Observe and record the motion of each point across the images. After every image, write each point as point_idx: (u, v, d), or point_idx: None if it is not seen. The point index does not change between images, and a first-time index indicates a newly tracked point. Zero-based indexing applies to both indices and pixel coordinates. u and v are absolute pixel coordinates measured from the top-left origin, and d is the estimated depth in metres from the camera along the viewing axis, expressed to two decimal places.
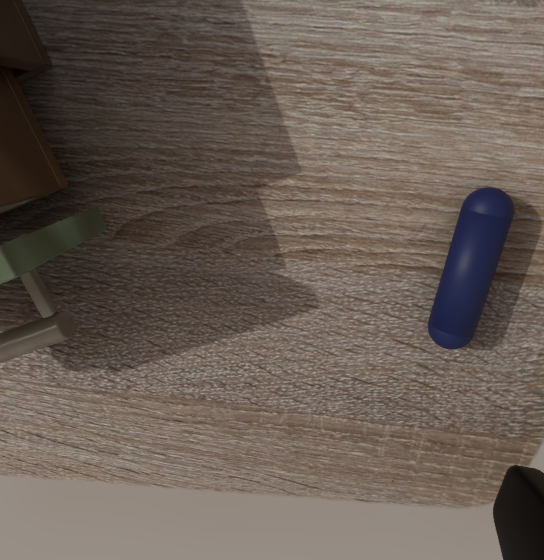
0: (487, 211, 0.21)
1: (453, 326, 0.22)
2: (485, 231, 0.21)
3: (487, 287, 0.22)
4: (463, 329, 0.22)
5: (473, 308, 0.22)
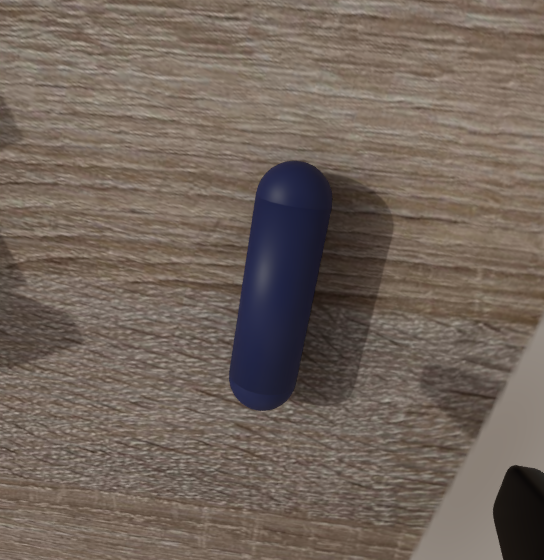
0: (279, 198, 0.13)
1: (251, 379, 0.14)
2: (279, 231, 0.13)
3: (298, 319, 0.14)
4: (267, 383, 0.14)
5: (278, 352, 0.14)
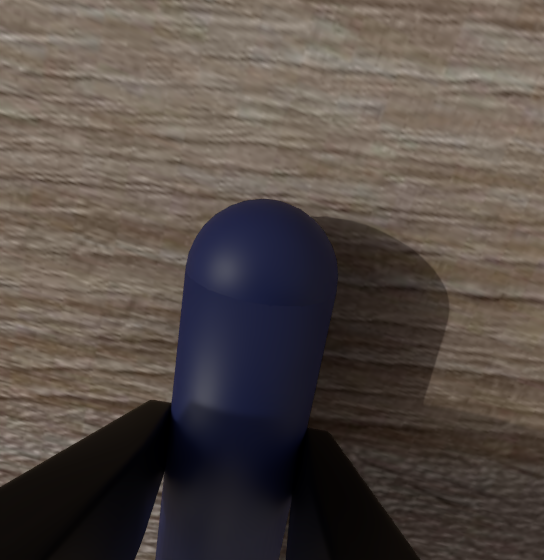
0: (226, 284, 0.06)
1: None
2: (228, 350, 0.06)
3: (272, 502, 0.07)
4: None
5: None
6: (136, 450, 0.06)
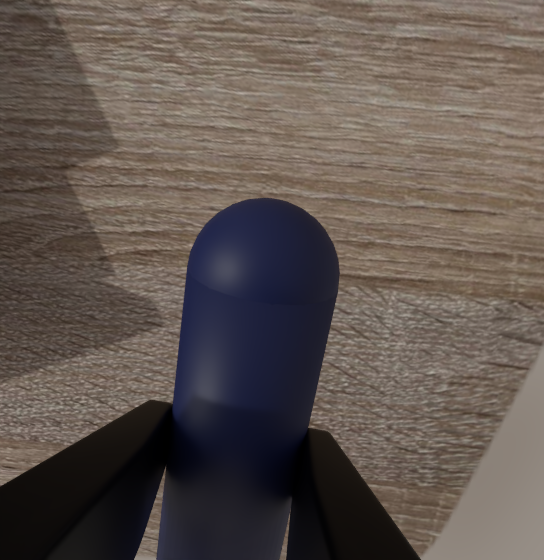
0: (227, 283, 0.06)
1: None
2: (230, 348, 0.06)
3: (273, 501, 0.07)
4: None
5: None
6: (135, 450, 0.06)
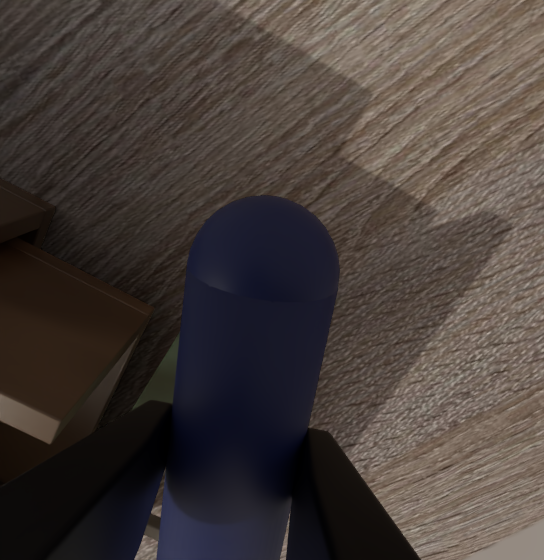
0: (227, 280, 0.06)
1: None
2: (230, 346, 0.06)
3: (273, 499, 0.07)
4: None
5: (235, 559, 0.07)
6: (135, 450, 0.06)
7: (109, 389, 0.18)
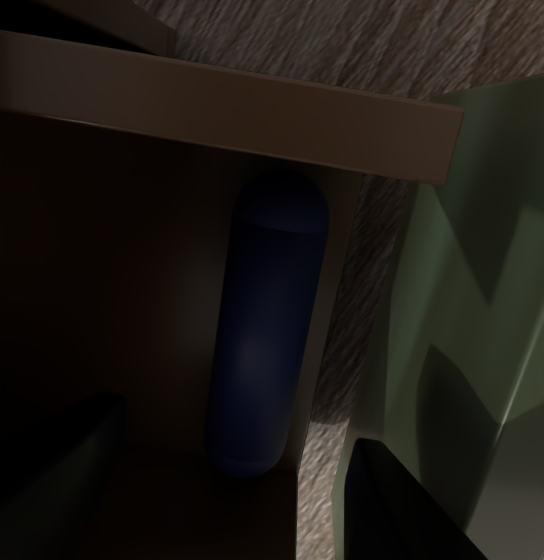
0: (257, 218, 0.10)
1: (226, 441, 0.11)
2: (258, 260, 0.10)
3: (284, 370, 0.11)
4: (245, 448, 0.11)
5: (258, 410, 0.11)
6: (74, 439, 0.06)
7: (339, 265, 0.12)
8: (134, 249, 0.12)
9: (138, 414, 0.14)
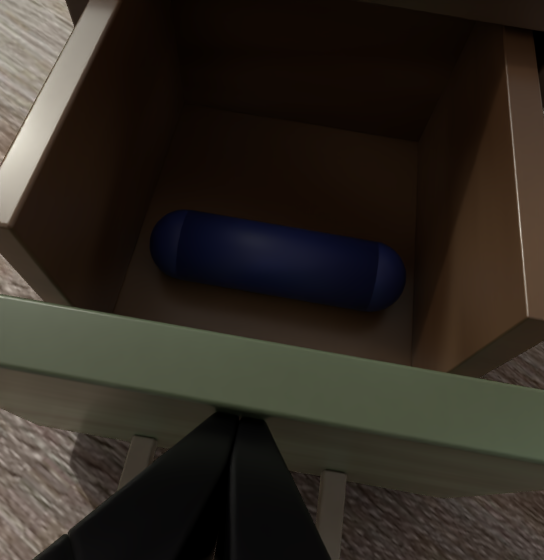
0: None
1: None
2: None
3: (271, 225, 0.14)
4: None
5: None
6: (217, 465, 0.06)
7: None
8: (319, 229, 0.17)
9: None
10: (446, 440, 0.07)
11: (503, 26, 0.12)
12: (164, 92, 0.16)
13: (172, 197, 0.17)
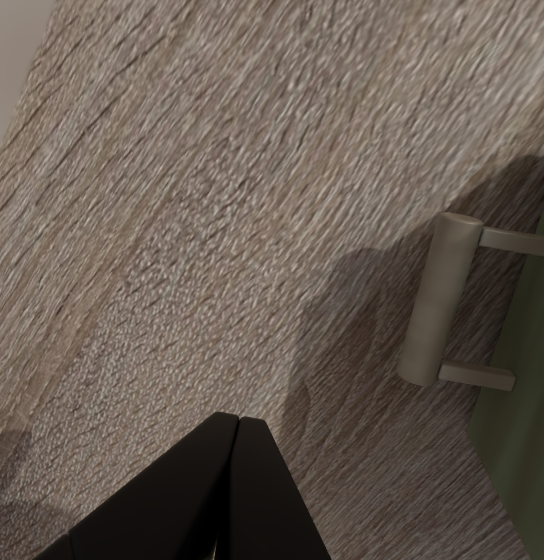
0: None
1: None
2: None
3: None
4: None
5: None
6: (217, 465, 0.06)
7: None
8: None
9: None
10: None
11: None
12: None
13: None
